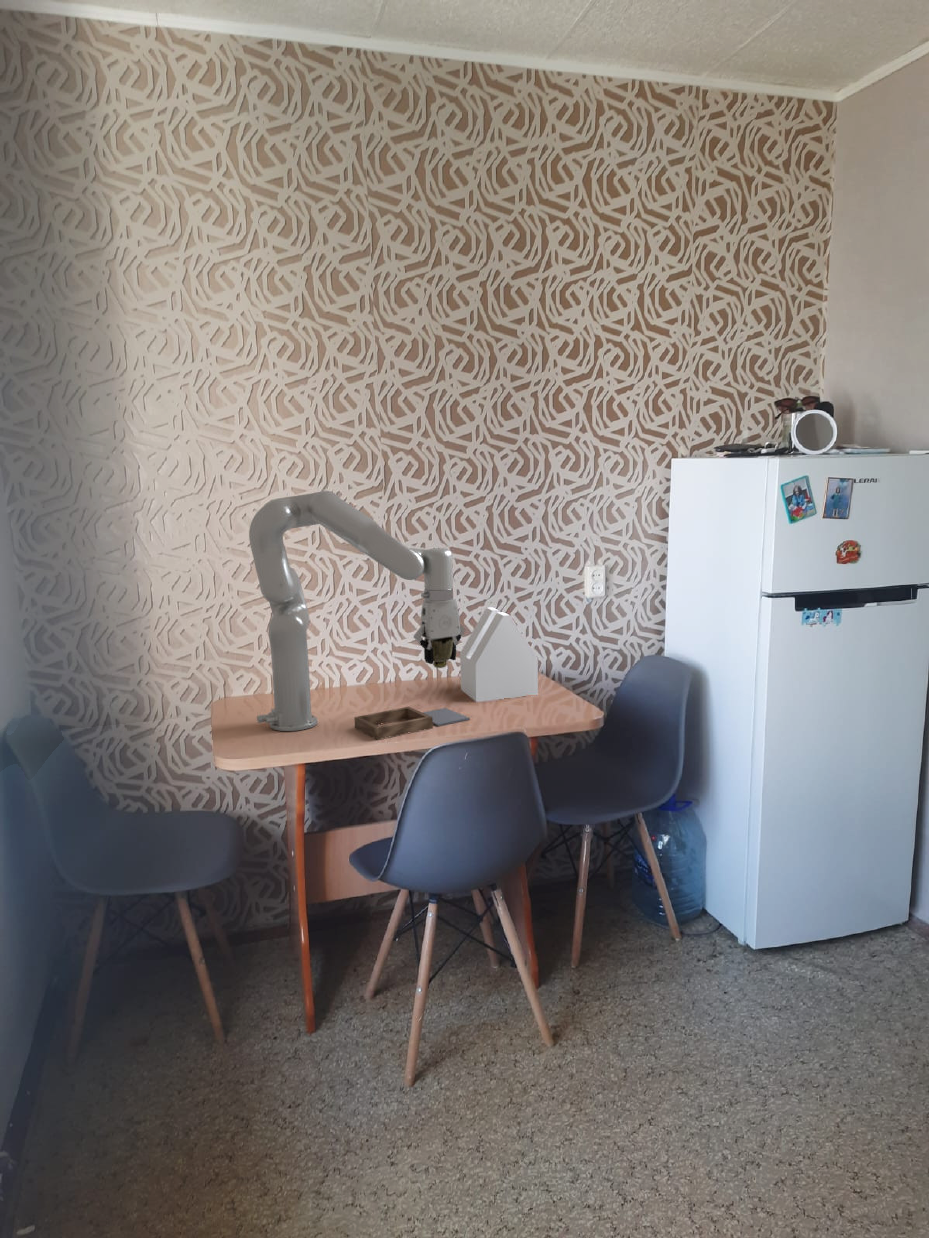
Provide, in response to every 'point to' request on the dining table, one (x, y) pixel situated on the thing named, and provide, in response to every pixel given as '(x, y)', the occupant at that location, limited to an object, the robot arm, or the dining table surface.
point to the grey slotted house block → (497, 660)
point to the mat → (445, 717)
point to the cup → (441, 651)
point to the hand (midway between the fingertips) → (440, 660)
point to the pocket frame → (412, 725)
